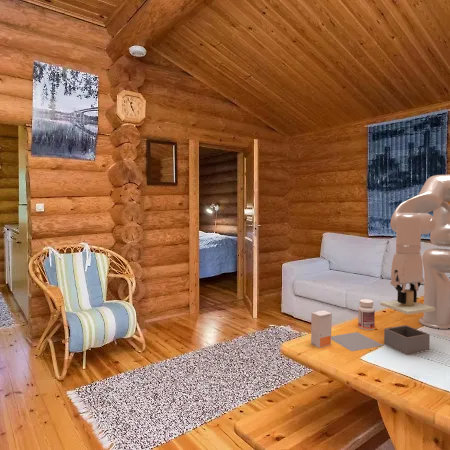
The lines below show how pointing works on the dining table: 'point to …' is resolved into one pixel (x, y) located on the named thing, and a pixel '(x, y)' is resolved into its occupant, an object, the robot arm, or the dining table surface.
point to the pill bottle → (366, 315)
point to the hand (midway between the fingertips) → (406, 301)
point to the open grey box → (406, 339)
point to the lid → (408, 305)
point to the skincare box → (321, 328)
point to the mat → (355, 341)
